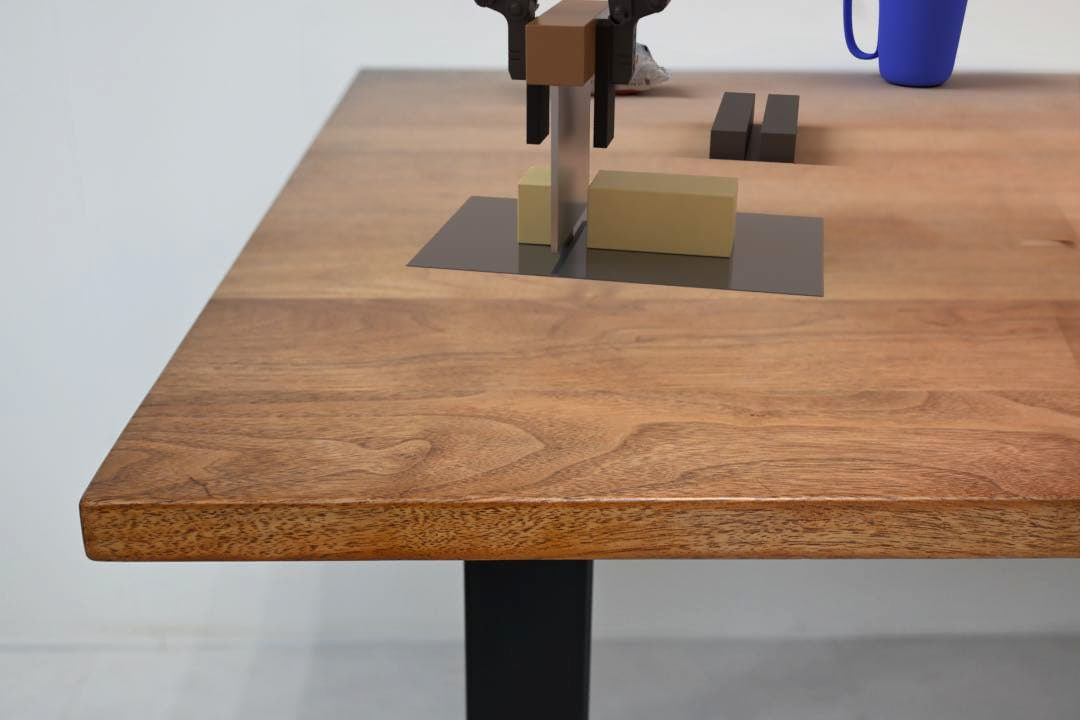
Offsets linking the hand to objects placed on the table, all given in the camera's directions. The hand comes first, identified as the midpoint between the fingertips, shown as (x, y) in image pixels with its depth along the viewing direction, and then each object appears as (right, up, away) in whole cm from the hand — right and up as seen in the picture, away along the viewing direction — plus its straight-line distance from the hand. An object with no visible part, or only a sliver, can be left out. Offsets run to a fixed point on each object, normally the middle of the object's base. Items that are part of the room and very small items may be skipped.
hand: (570, 139), depth 70 cm
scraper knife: (0, -5, +2) cm, 5 cm away
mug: (+33, +15, +53) cm, 64 cm away
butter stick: (+5, -6, +1) cm, 8 cm away
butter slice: (-1, -5, +2) cm, 6 cm away
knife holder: (+15, +4, +26) cm, 30 cm away
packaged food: (+4, +12, +45) cm, 47 cm away
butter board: (+3, -7, +2) cm, 8 cm away
